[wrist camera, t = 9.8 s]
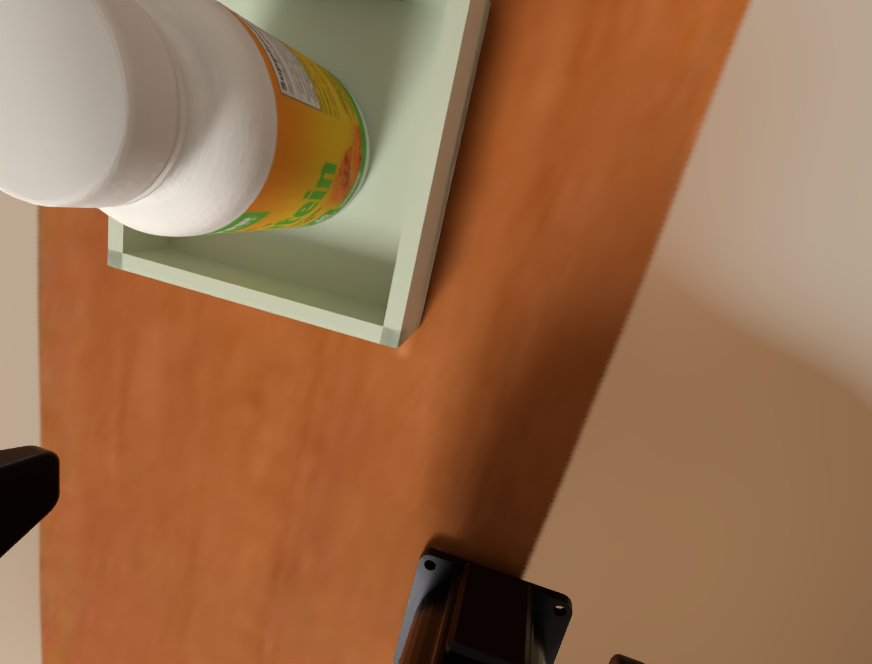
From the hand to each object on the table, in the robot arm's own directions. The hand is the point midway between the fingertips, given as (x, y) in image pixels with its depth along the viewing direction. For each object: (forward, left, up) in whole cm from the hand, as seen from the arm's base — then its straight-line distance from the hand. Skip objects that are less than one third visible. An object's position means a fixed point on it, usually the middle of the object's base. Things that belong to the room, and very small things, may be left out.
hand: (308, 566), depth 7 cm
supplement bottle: (+6, +7, -11) cm, 14 cm away
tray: (+6, +7, -12) cm, 15 cm away
